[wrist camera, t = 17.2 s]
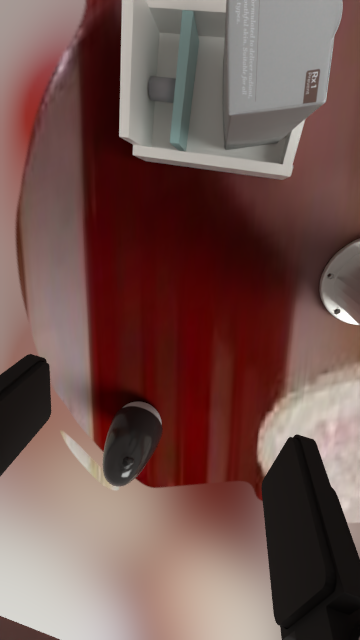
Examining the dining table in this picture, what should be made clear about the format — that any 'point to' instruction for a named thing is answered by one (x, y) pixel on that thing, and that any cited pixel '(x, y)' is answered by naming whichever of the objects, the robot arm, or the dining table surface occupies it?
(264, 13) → the skincare box
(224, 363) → the dining table surface
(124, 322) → the dining table surface
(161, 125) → the open box with divider
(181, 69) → the pusher
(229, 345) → the dining table surface
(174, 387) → the dining table surface
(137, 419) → the dark grey egg shape
